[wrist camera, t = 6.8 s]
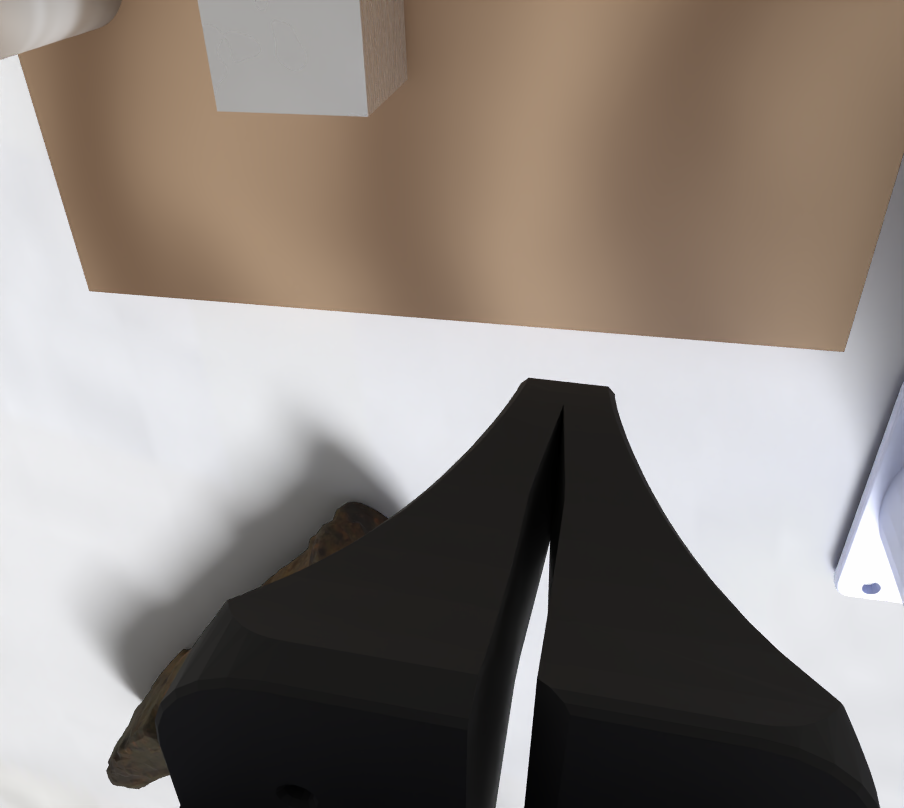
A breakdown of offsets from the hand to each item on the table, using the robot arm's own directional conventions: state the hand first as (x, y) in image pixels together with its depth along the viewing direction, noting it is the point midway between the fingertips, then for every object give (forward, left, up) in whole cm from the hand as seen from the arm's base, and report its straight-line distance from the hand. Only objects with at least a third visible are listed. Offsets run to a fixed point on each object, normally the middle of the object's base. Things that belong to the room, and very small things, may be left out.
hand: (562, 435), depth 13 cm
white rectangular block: (+6, -6, -8) cm, 11 cm away
